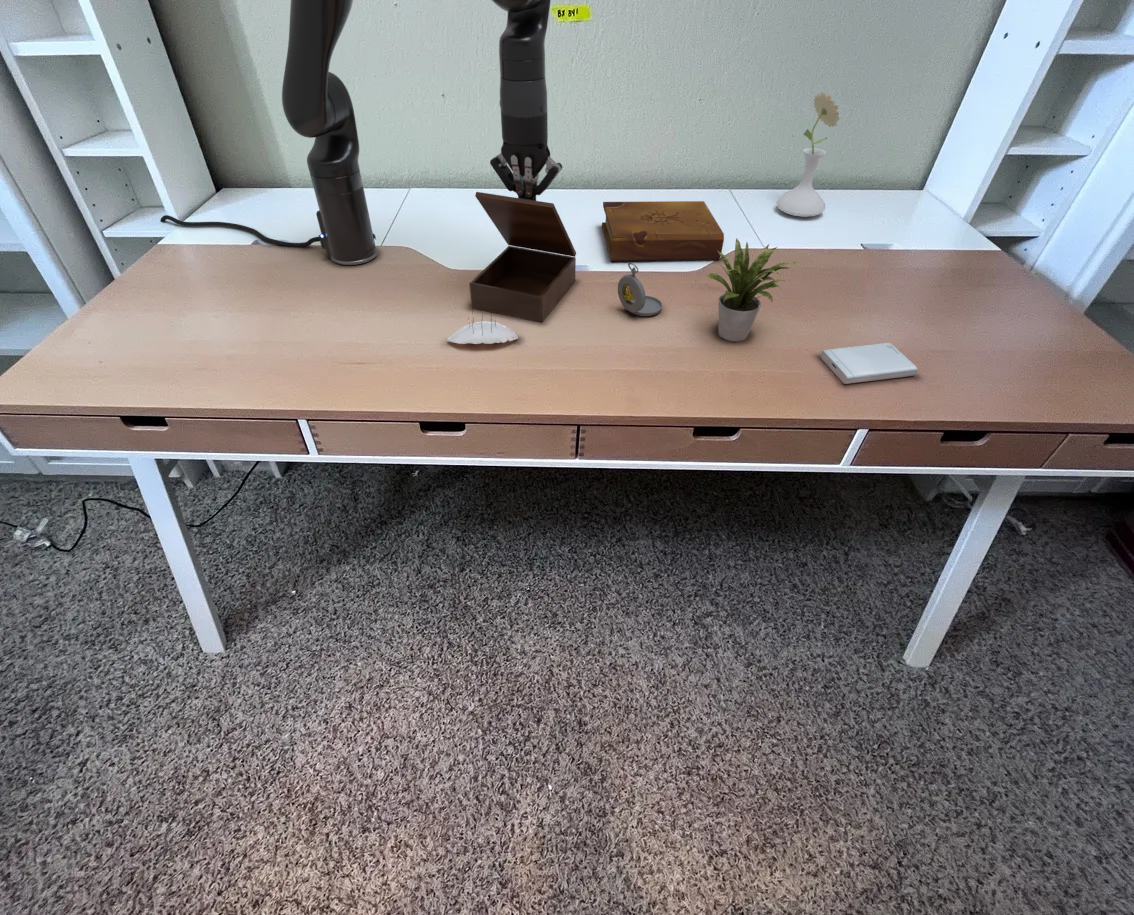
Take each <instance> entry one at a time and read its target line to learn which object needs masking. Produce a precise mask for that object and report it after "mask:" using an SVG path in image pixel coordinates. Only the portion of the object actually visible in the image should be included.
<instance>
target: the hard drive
mask: <svg viewBox="0 0 1134 915" xmlns="http://www.w3.org/2000/svg"><path fill="white" fill-rule="evenodd" d="M819 357H820V359H821V360H822V361H823V362H824V363H825V365H826V366H827V367H828V368H829V369H830V370H831V371H832V373H834V375H835V376H836V377H837V378H838V379H839V380H840V381H841V383H842V384H844V385H848V384H856V383H866V382H872V381H874V382H875V381H882V380H889V379H897V378H905V377H913V376H916V375H917V372H918V370H919V369H918V367H917V366H916V365H915V364H914V363H913V362H912V361H911V360H910V359H909V358H907V356H905V354H903V353H902V352H901V351H900V350H899V349H898V348H896V346H894V345H893V344H892V343H891V342H884V343H875V344H874V343H873V344H865V345H857V346H848V347H839V348H838V347H837V348H831V349H822V350H821V352H820V355H819Z"/></svg>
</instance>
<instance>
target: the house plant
mask: <svg viewBox="0 0 1134 915" xmlns="http://www.w3.org/2000/svg"><path fill="white" fill-rule="evenodd" d="M734 245H735V246H734V257H733V259H734V260H733V268H732V266H731V263H730V261H729V260H728V258H727V257H726V256H725V255H724V254H723V252H719V251H718V250H717V251H718V253H719V254H720V256H721V257H720V258H721V260H722V262H723V264H724V265H725V267H726V268H725V267H724V266H723V265H722V264H720V267H721V268H722V269H723V270H724V272H725V273H726V274H727V276H728V279H729V281H730V284H731V287H730V285H729V283H728V282H727V281H726V279H724V277H722V276H721V275H719V274H718V273H708V274H707V275H706V277H708V278H710V279H711V280H715V281H717V282H719V283H720V284H722V285H723V286H724V287H725V288H726V290H725V292H724V293H722V294H721V295H720V296H719V298H718V317H717V318H718V322H717V323H718V324H717V325H718V330H717V331H718V336H720V338H722V339H723V340H726V341H729V342H741V341H744V340H746V339H747V338H748V336H749V334H750V331H751V329H752V327H753V324H754V322H755V320H756V317H757V315H758V314H759V311H760V308H761V306H762V303H761V300H760V299H759V298H761V297H765V298H767V299H768V300H770V301H771V304H774V301H773V300H774V299H773V295H772V294H771V293H770V292H769V291H766V290H769V289H772V288H780V285H778V282H785V281H786V279H775V278H773V277H771V276H770V275H771V274H775V275H779V276H781V274H780V273H779V272H778V271H779V270H788V269H789V267H787V266H786V265H793V264H797V263H799V261H787V262H786V261H785V262H781V263H777V264H775V265H773V266H771V267H768V268H764V266H766V264H767V263H768V261H769V260H770V257H771V256H772V254H773V253H774V252H775V251H776V250H777V248H778V246H776V247H773V248H771V249H769V246H770V243H768V244H767V245H766V246H765V247H764V248H763V249H762V251H761V252H760V254H759V255H758V256H757V257H756V258H755V259H754V260H753V262H752V263H751V265H750V252H749V243H748V242H746V243H745V249H744V250H743V248H742V247H741V242H740V240H739V239H738V238H736V239H735V244H734ZM768 249H769V250H768ZM749 266H750V267H749ZM765 281H769V282H765ZM762 282H764V283H763V284H761V283H762ZM758 294H760V296H757V295H758Z"/></svg>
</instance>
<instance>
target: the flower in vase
mask: <svg viewBox="0 0 1134 915" xmlns="http://www.w3.org/2000/svg"><path fill="white" fill-rule="evenodd" d="M813 101H814V102H813V107H814V108H815V112H816V113H817V119H816V121H815V123H814V125H813V127H812V129H811V131H810V129H808V128H807V129H806V130H805V131H804V132H803V136H805V137H806V138H807V139H808V141H810V142H811V147H807V148H804V149H803V150H802V152H803V155H804V159H805V160H804V170H803V174H802V177H801V181H800V182H799V184H798V185H797V186H795V187H793V188H792V189H790V190H788V191H786V192H785V193H783V194H781V195H780V196H779V197H778V198H777V200H776V203H775V204H776V206H777V208H778V210H780V211H781V212H783V213H785V214H788V215H789V216H790V215H791V216H794V217H801V218H802V217H803V218H805V217H815V216H818V215H821V214H822V213H824V212H825V211H826V204H825V202H824V200H823V198H822V197H821V195H820V194H819V193H818V192H817V191H816V190H815V188H814V186H813V178H814V175H815V171H816V169H817V166H818V164H819V162H820V161H821V159H822V158H823V157H824V156H826V154H827V151H826V150H824V149H821V148H816V147H815V146H814V145H816V144H820V143H821V142H823V141H825V140H827V139H828V136H827V137H824V138H823V139H819V140H817V141H815V142H814V131H815V128H816V126H817V124H818V123H819V121H821V122H823V123H824V125H825V126H828V127H829V128H831V127H833V128H834V127H835V126H837V125H838V122H839V121H840V117H839V115H840V112H839V111H838V109H839V106H838V105H837V104H836V102H835V101H834V99H832V96H831V95H830V94H828V95H827V93H826V92H823V91H821V92H820V94H819V93H817V94H816V95H814V100H813Z"/></svg>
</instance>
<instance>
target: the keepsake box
mask: <svg viewBox="0 0 1134 915" xmlns="http://www.w3.org/2000/svg"><path fill="white" fill-rule="evenodd" d="M576 261H577V258H576V256H575V257H574V256H568V255H562V254H556V253H551V252H545V251H539V250H533V249H527V248H522V247H516V246H510V245H508V246H507V247H506V248H505V249H503V251H502V252H501V253H499V255H498V256H496V257H495V258H494V259H493V260H492V261H491V262H490V263H489V264H488V265H487V266H486V267H485V268H484V269H482V271H481V272H480V273H478V275H476V276H475V278H473V279H472V280H471V281H470V282H469V284H468V285H469V293H470V303H471V309H472V310H473V309H474V310H478V311H482V312H483V311H484V312H488V313H493V314H499V315H502V316H507V317H512V318H518V319H523V320H528V321H532V322H537V323H540V324H541V323H542V324H543V323H544V322H545V320H546V319H547V317H549V315H550V314H551V313H552V311H554V309H555V308H556V306H557V305H558V304H559V303H560V301H561V300H562V299H563V298H564V296H565V295H566V294H567V292H569V290H570V289H571V287H572V286H573V285H574V283H575V282H576V265H577V262H576ZM481 306H482V309H481Z"/></svg>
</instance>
